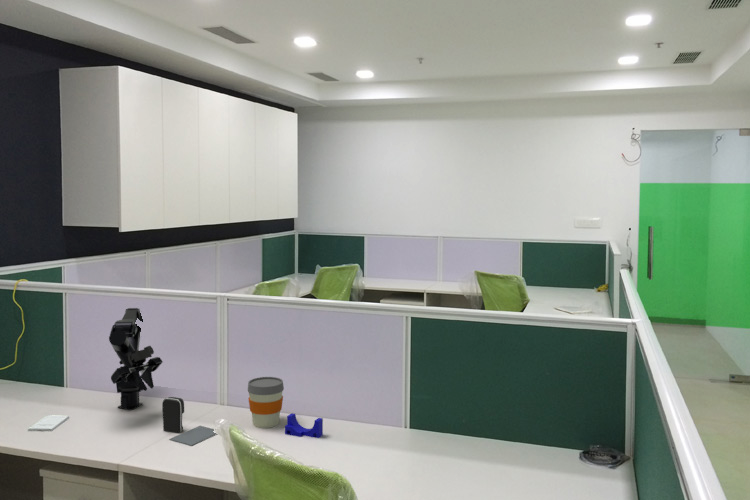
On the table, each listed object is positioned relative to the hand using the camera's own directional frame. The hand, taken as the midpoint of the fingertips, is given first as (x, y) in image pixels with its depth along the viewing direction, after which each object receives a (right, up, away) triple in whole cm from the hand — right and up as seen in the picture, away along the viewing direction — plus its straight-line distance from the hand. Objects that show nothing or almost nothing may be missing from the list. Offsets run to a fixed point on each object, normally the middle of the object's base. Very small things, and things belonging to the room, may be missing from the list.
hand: (149, 388), depth 230 cm
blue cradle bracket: (+55, -14, -7) cm, 57 cm away
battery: (+10, -13, -4) cm, 17 cm away
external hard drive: (-35, -13, 0) cm, 38 cm away
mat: (+19, -14, -9) cm, 25 cm away
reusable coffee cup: (+40, -13, +3) cm, 42 cm away
